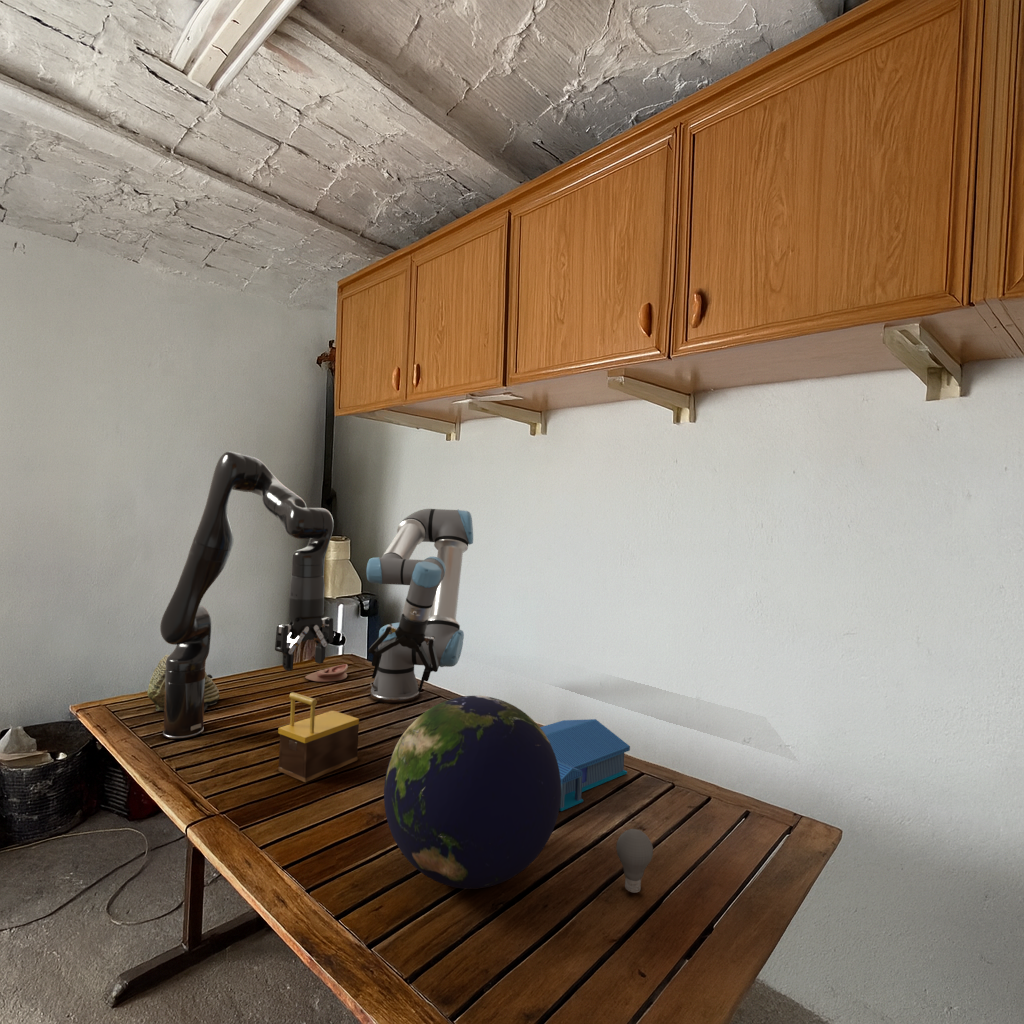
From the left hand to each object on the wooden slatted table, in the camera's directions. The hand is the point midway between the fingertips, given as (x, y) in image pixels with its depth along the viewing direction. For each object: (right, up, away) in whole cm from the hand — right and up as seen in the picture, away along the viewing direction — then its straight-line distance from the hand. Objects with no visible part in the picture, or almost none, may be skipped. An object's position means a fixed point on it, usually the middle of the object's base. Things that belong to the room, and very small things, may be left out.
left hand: (304, 666), depth 144 cm
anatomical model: (-17, -22, +75) cm, 80 cm away
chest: (+2, -25, +5) cm, 25 cm away
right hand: (+14, -14, +37) cm, 42 cm away
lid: (+2, -16, +4) cm, 16 cm away
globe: (+40, -27, -36) cm, 60 cm away
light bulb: (+67, -28, -39) cm, 83 cm away
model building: (+54, -27, +1) cm, 61 cm away
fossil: (-49, -22, +41) cm, 67 cm away
